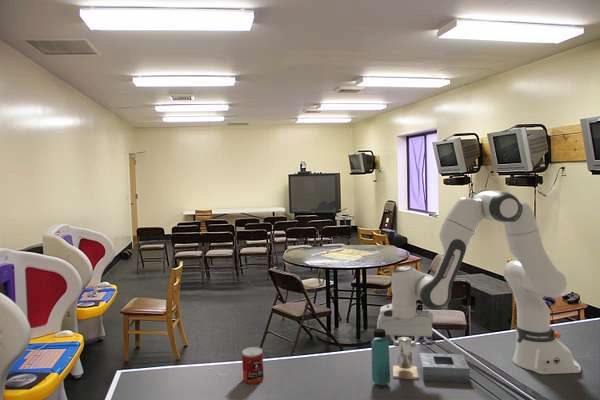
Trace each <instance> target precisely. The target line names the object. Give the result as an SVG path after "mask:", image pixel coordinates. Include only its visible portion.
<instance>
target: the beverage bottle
mask: <svg viewBox="0 0 600 400" xmlns="http://www.w3.org/2000/svg"><path fill="white" fill-rule="evenodd" d="M386 336H387V335H386V334H385V330H384V329H377V328H375V329H374V331H373V337H374V338H373V339H372V340H371V341H370V344H371V346H370V347H371V378H372V381H373V383H374V384H376V385H380V386H381V385H382V386H384V385H387V384H389V383H390V382H391V365H390V364H391V362H390V358H391V356H390V342H389V340H387V339H386V338H385V337H386Z"/></svg>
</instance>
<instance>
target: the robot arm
mask: <svg viewBox="0 0 600 400" xmlns="http://www.w3.org/2000/svg"><path fill="white" fill-rule="evenodd" d="M484 219H485V220H489V221H497V222H499V223H500V222H502V224H503V227H504V230H505V231H504V232H505V235H506V236H505V237H506V238H507V244H508V247H509V251H510V253H511V255H513V256H514V258H516V259H517V260H510V261H508V262H507V263H506V264H505V266H504V268H503V272H502V273H503V274H502V275H503V278H504V280H506V282H507V283H508V285H509V287H510V288H511V292H512V294H513V297H514V300H515V304H516V305H515V307H516V317H517V319H516V320H517V321H516V323H517V324H516V325H515V340H516V344H515V351H514V355H513V357H512V361H513V363H514V364H515V365H517V367H520V368H523V369H524V370H525V369H526V370H528V371H533V372H535V373H537V374H540V375H555V374H557V375H558V374H559V375H560V374H561V375H562V374H578V373H582V368H581V366H580V364H579V363H578V362H577V361H576V360H575V359H574V356H573V354H572V351H571V349H569V348H568V347H567V346H566V345H565V344H564V343H563V342H561V341H559V339H560V338H561V333H560V332H558V331H556V330H554V329H553V328H551V310H550V308H549V306H548V304H547V303H546V302H545V300H544V298H543V297H547V298H558V297H560V296H562V295H563V294H564V292H565V291H566V288H567V278H566V276H565V274H563V273H562V272H561V271H560V270H559V269H558V268H557V267H556V266H555V265H554V262H553V261H552V260H551V259H550V257H549V255H548V254H547V252H546V250H545V248H544V246H543V245H544V244H543V242H542V238H541V236H540V230H539V227H538V223H537V219H536V217H535V214H534V212H533V210H532V207H531V206H530V205H529V203H528V202H525V201H521V200H519V199H518V197H516V196H515V195H513V194H512V193H509V192H507V191H501V190H487V189H483V190H479V191H477V192H475V193H474V194H473V195H471V196H470V197H468V196H464V197H460V198H458V199H457V201H456V202H455V203H454V205H453V206H452V207H451V208H450V211H448V213H447V215H446V217H445V219H444V220H443V223H442V224H441V228H440V231H439V240H440V242H441V245H442V249H443V255H442V259H441V261H440V263H439V266H438V268H437V270H436V273H435V275H434V276H433V275H431V274H428V273H425V272H421V271H419V270H418V269H415V268H414V267H413V266H412V265H411V266H410V265H403V266H399V267H397V268H395V269H394V270H393V271H392V273H391V274H392V275H391V285H390V286H391V287H390V288H391V293H392V299H391V303H389V304H386V305H383V306H380V309H379V315H378V318H377V323H376V329H384V330H385V334H386V336H390V339H391V341H392V342H393V348H394V347H396V348H398V342H397V340H396V339H395V336H401V337H413V336H414V340H412V348H416V347H417V342H419V339H420V337H432V335H433V324H432V322H433V321H434V315H433V313H432V312H431V311H429V310H417V301H421V302H422V303H423V305H424V306H425V307H426V308H428V309H430V310H432V311H433V310H434V311H438V310H442V309H444V308H445V307H446V306H447V305H449V303H450V301H451V297H452V290H453V289H452V288H453V284H454V282H455V279H456V277H457V274H458V272H459V269H460V267H461V265H462V262H463V259H464V257H465V254H466V251H467V248H468V245H469V243H470V241H471V239H472V237H473V235H474V232H475V231H476V230H477V227H478V225H479V224H480V223H481V221H483V220H484Z"/></svg>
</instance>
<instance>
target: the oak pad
mask: <svg viewBox="0 0 600 400" xmlns="http://www.w3.org/2000/svg"><path fill="white" fill-rule="evenodd" d="M392 374H393V379H405V380H408V379H409V380H420V377H419V373H418V367H417V365H412V367H411V368H408V369H404V368H400V367H399V366H398V364H397V365H395V364H393V365H392Z"/></svg>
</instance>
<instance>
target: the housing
mask: <svg viewBox="0 0 600 400" xmlns="http://www.w3.org/2000/svg"><path fill="white" fill-rule="evenodd" d="M419 368H420V372H421V376H422V380H423V381H432V382H433V381H435V382H436V381H437V382H456V383H470V380H471V378H470V373H471V372H470V367H469V365H468V362H467V360H466V358H465V356H464V354H460V353H459V354H456V353H455V354H454V353H431V352H430V353H428V352H427V353H426V352H419Z"/></svg>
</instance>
